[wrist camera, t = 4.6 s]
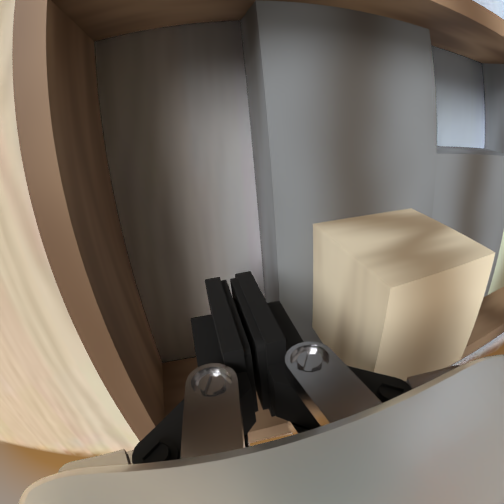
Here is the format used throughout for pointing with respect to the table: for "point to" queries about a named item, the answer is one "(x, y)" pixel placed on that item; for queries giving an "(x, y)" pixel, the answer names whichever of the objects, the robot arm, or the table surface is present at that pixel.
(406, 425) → the robot arm
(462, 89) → the table surface
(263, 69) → the box
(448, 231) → the block
